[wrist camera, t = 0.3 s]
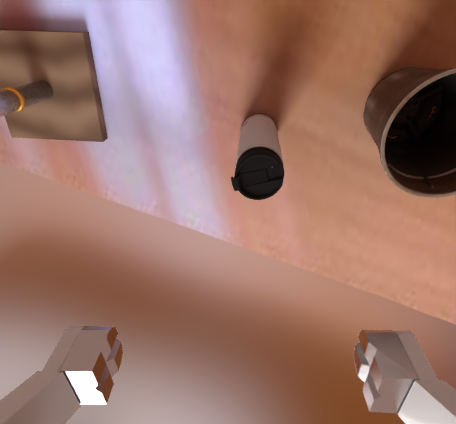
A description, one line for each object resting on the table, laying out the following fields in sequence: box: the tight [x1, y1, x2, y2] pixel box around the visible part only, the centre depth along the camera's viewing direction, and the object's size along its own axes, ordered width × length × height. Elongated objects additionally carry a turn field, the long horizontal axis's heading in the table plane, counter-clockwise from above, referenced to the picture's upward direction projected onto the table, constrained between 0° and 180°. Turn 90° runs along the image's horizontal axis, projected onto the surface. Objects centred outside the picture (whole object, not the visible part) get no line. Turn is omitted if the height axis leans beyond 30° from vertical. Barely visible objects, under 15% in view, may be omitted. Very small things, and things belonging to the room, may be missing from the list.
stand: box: [0, 30, 107, 142], centre depth 53 cm, size 17×17×2 cm
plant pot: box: [364, 68, 456, 198], centre depth 45 cm, size 16×16×16 cm
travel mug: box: [231, 114, 284, 200], centre depth 47 cm, size 6×7×20 cm
